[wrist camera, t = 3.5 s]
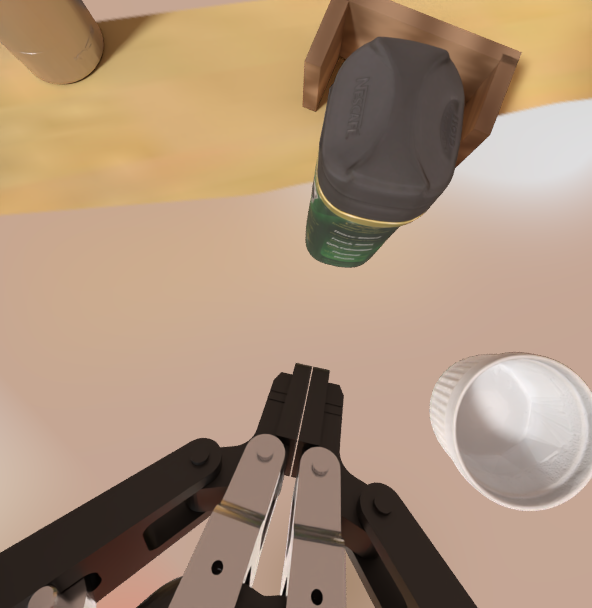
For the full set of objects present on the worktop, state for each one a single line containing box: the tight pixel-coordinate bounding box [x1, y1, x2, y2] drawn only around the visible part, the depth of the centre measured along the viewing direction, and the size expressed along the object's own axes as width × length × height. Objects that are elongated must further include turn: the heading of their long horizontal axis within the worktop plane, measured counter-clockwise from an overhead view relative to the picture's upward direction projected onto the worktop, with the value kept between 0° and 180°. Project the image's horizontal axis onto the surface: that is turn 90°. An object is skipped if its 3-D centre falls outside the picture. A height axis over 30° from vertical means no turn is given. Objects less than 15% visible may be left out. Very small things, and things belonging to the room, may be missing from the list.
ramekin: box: [430, 352, 592, 511], centre depth 29 cm, size 13×13×7 cm
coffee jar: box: [306, 37, 465, 268], centre depth 24 cm, size 10×8×19 cm
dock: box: [303, 0, 522, 168], centre depth 32 cm, size 19×9×6 cm, turn 68°
